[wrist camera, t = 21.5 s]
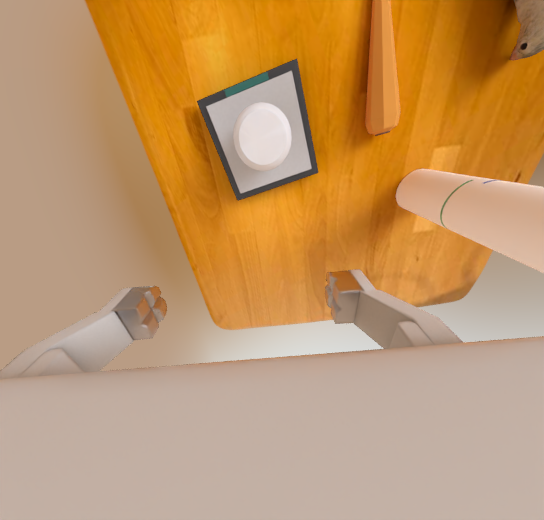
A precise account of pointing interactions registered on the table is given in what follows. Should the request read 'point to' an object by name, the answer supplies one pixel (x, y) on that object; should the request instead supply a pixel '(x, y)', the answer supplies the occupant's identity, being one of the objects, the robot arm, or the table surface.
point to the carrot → (382, 73)
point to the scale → (284, 95)
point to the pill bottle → (262, 136)
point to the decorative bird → (529, 28)
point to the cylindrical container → (480, 211)
